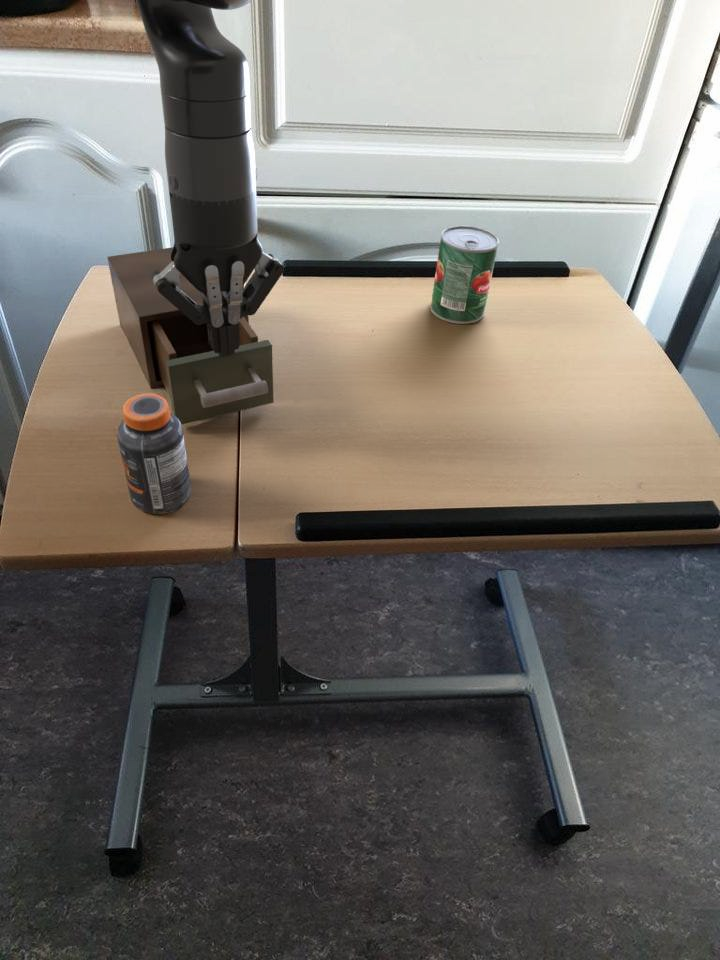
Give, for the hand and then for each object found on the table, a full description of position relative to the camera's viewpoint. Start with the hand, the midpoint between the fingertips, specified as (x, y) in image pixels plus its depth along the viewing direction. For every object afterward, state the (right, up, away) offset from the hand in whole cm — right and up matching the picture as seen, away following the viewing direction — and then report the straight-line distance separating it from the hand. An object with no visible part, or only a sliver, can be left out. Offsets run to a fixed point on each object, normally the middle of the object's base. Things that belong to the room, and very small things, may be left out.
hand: (224, 352), depth 73 cm
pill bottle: (-6, -15, -2) cm, 16 cm away
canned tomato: (+28, +11, +30) cm, 42 cm away
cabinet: (-9, +4, +18) cm, 21 cm away
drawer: (-3, -2, +10) cm, 11 cm away
